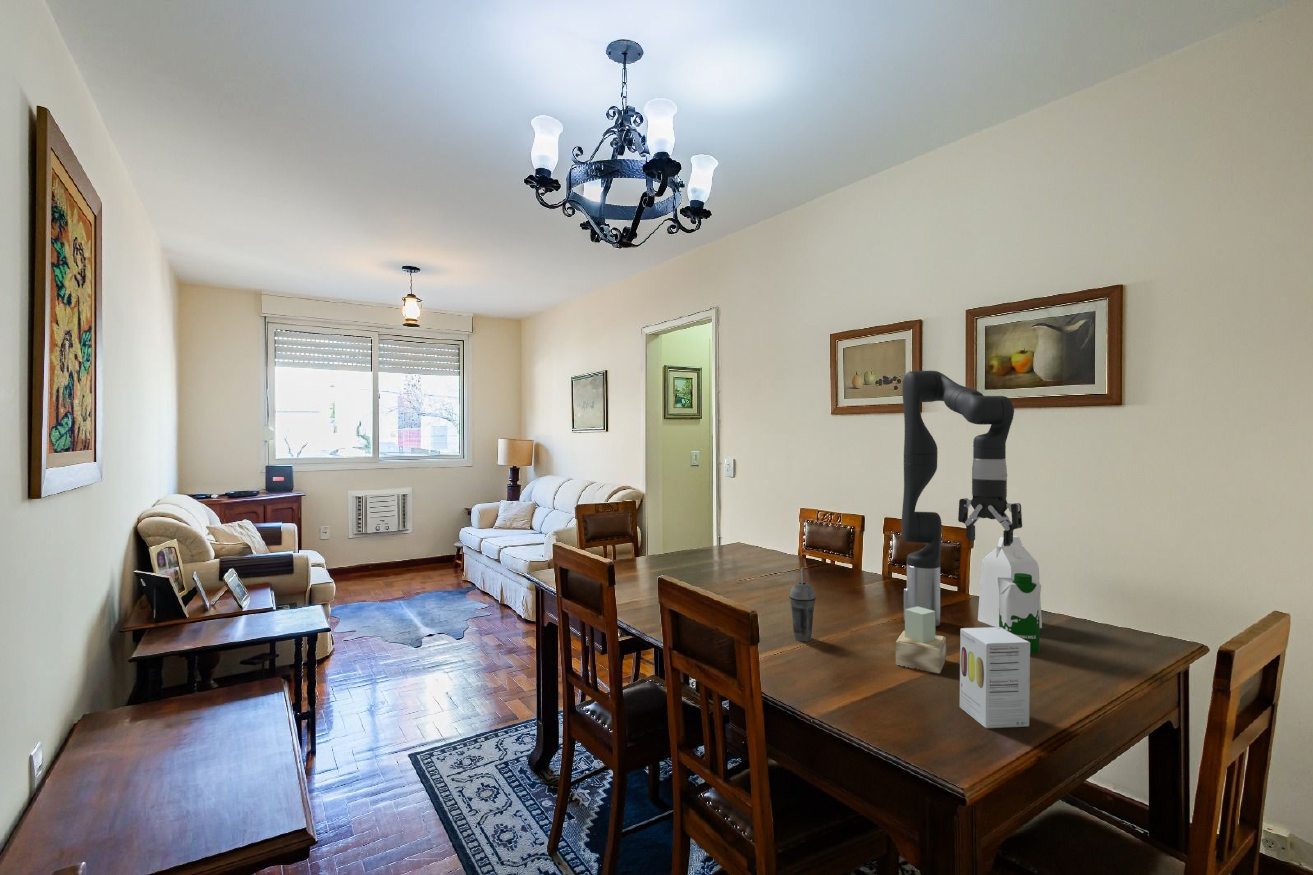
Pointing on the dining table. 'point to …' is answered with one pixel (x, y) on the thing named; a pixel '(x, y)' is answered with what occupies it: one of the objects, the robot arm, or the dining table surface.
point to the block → (920, 624)
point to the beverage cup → (802, 609)
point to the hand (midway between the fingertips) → (989, 543)
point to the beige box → (921, 653)
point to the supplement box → (995, 677)
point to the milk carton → (1020, 608)
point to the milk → (1002, 576)
